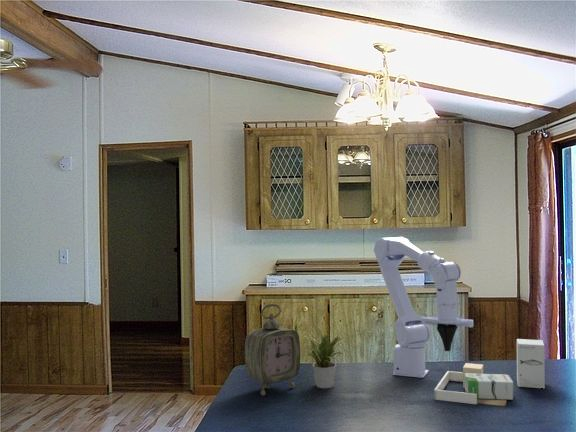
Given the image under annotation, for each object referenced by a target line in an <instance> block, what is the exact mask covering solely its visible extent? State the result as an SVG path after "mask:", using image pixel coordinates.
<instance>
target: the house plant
mask: <svg viewBox="0 0 576 432" xmlns="http://www.w3.org/2000/svg"><path fill="white" fill-rule="evenodd" d="M319 333H320V337H321V339H320V340H321V342H320V343H318V347H317V345H316V344H315V342H314V341H313V340H312V339H311V338H310V337H308V335H304V337H305V338H306V339H307V340H306V342H307V343H310V346H311V352H308V353H307V352H306V357H307V356H309V357H310V356H311V358H313V359H314V361H315V362H314V363H312V370H313V375H314V377H313V378H314V382H315V386H316V388H319V389H331V388H333V387H334V385H335V378H336V369H337V364H336V363H335V362H333V361H332V360H333V359H334V356H335V355H337V357H338V356H339V355H344V351H342V352H340V351H338V352H336V350H335V349H336V348H337V347H338V346H339V345H340V344H342V342H340V343H338V342H339V341H341V340H342V339H347V338H348V336H344V337H340V336H342V335H343V333H340V334H339V335H337V336H336V337H334V338H333V340H331V341H329V335H328V332H327V331H326V330H325V333H324V332H323V333H322V332H321V331H319ZM337 343H338V344H337ZM336 344H337V345H336ZM335 345H336V346H335Z"/></svg>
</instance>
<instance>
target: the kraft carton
mask: <svg viewBox="0 0 576 432" xmlns="http://www.w3.org/2000/svg"><path fill="white" fill-rule="evenodd" d="M462 372H463V382H462V386H463V389H465V373H476V374H484V364H481V363H470V362H465V364H464V365H463V367H462Z"/></svg>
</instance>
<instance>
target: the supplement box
mask: <svg viewBox="0 0 576 432" xmlns="http://www.w3.org/2000/svg"><path fill="white" fill-rule="evenodd" d="M544 343H545V342H544V340H543V339H524V338H517V339H516V382H517V387H518V388H534V389H541V388H543V390H544V389H546V380H545V379H546V377H545V372H546V368H545V366H546V365H545V361H546V360H545V359H546V357H545V353H546V352H545V351H546V350H545V348H546V347H545V344H544Z"/></svg>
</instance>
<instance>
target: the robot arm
mask: <svg viewBox="0 0 576 432" xmlns="http://www.w3.org/2000/svg"><path fill="white" fill-rule="evenodd" d="M374 243H375V244H374V248H373V252H374V254H375V259H376V261H377V263H378V265H379V269H380V272H381V275H382V278H383V280H384V283H385V286H386V289H387V291H388V293H389V296H390V299H391V301H392V304H393V308H394V310H395V313H396V316H397V318H396V320H395V322H394V324H393V327H394V333H395V339H396V341H397V344H395V345H394V348H393V375H394V376H399V377H400V376H401V377H409V378H410V377H412V378H421V379H422V378H425V377H426V376H427V374H428V373H429V372H430V371H429V369H426V346H427V345H428V342H429V340H430V339H431V330H430V327H429V325H430V326H431V325H432V326H434V325H435V326H436V330H437V333H438V334H439V336H440V339H441V341H442V344H443V349H444V352H450V351H452V344H453V340H454V336H455V334H456V332H457V329H458V328H459V327H467V328H473V327H474V319H469V318H459V317H458V296H457V295H458V292H457V291H458V288H457V287H458V286H457V284H458V283H457V281H459V279H460V278H461V274H462V273H461V267H460V265H458V263H457V262H455V261H451V260H450V261H447V260H446V259H445V258H444V257H440V256H438V255H436V254H435V251H433V250H426V251H422V250H421V249H420V248H418V247H417V246H415V245H414V244H412V243H411V241H410V240H409V239H408V238H406V237H405V236H396V237H395V236H394V237H393V236H392V237H378V238H377V239H376V241H375V242H374ZM405 257H408V258H410V259H411V260H413V261H415V262H417V266H418V268H419V269H421V270H423V271H424V272H426V273H427V274H429V275H431V278H432V280H433V282H434V287H435V289H436V316H422V315H419V314H418V313H416V312H415V309H414V307H413V305H412V302H411V299H410V297H409V296H410V295H409V294H408V292H407V289H406V287H405V283H404V282H403V278H402V276H401V273H400V271H399V266H400V265H401V264H402V262H403V261H404V259H405Z"/></svg>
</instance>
